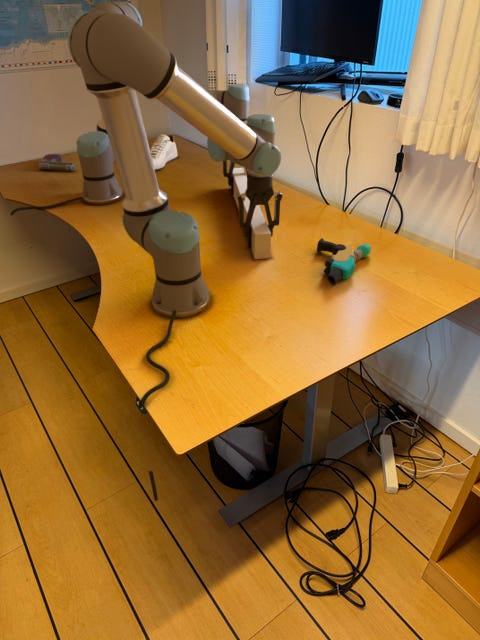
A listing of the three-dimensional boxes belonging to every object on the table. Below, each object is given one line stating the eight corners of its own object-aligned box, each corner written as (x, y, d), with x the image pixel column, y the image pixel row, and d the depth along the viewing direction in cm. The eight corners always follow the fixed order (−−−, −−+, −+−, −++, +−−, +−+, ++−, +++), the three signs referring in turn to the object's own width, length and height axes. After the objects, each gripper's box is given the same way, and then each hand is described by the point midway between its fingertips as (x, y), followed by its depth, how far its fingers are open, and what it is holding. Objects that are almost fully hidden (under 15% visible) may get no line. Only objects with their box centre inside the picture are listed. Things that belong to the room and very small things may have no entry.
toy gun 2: (295, 266, 131) (348, 279, 125) (326, 230, 149) (373, 240, 144) (294, 280, 133) (346, 293, 128) (325, 243, 152) (371, 253, 146)
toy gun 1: (87, 162, 220) (72, 173, 209) (51, 160, 224) (33, 171, 212) (86, 154, 218) (70, 164, 206) (49, 152, 221) (31, 162, 209)
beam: (270, 258, 144) (271, 233, 140) (254, 259, 144) (255, 234, 139) (242, 187, 193) (242, 167, 188) (231, 188, 192) (230, 168, 187)
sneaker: (133, 173, 208) (129, 144, 201) (161, 153, 230) (158, 127, 223) (155, 175, 205) (151, 146, 198) (180, 155, 227) (178, 129, 220)
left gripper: (261, 127, 177) (260, 188, 190) (213, 129, 175) (215, 191, 188) (265, 133, 171) (263, 195, 184) (215, 135, 169) (217, 198, 182)
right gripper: (287, 167, 140) (283, 239, 154) (227, 170, 138) (229, 242, 152) (293, 175, 134) (288, 249, 148) (230, 179, 132) (231, 253, 146)
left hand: (239, 193), depth 186 cm, fingers closed on beam, 5 cm apart
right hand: (258, 246), depth 150 cm, fingers closed on beam, 5 cm apart
